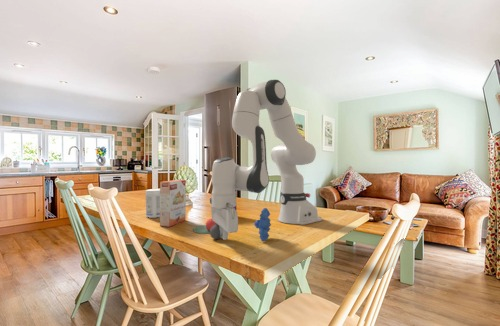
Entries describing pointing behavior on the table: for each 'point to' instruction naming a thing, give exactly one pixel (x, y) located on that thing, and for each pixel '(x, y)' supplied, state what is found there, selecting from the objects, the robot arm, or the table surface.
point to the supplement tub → (153, 203)
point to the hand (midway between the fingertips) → (224, 238)
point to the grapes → (263, 224)
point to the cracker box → (172, 202)
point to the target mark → (201, 229)
